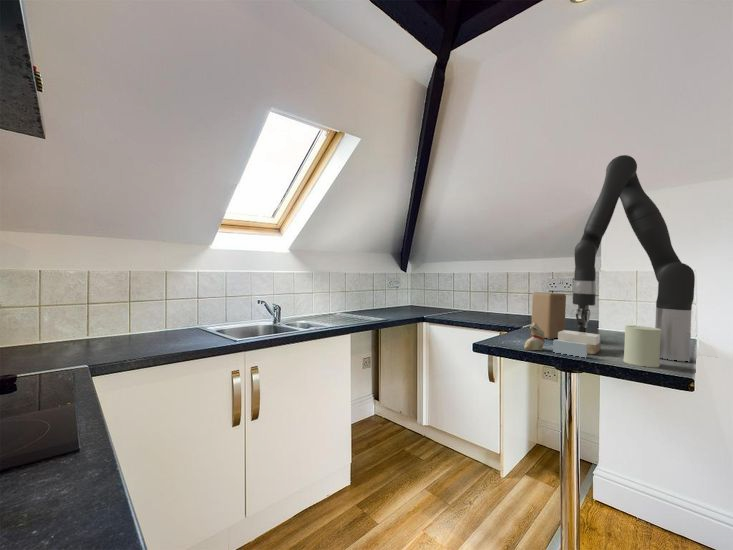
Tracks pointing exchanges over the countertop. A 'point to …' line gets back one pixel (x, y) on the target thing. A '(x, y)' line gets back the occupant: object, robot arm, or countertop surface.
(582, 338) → the slab
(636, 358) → the can
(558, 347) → the rail
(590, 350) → the roller
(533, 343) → the chocolate bunny
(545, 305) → the wooden block
